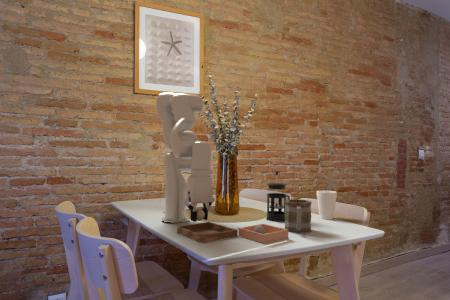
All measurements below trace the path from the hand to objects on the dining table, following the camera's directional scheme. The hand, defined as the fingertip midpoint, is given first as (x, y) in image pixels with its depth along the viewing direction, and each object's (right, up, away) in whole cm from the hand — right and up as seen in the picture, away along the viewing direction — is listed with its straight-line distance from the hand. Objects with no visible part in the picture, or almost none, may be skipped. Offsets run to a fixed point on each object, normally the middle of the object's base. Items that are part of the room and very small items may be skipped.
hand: (199, 219), depth 132 cm
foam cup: (+59, -6, +33) cm, 69 cm away
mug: (+40, -6, +6) cm, 41 cm away
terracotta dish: (+24, -6, -6) cm, 26 cm away
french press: (+35, -6, +29) cm, 46 cm away
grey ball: (+23, -5, -7) cm, 24 cm away
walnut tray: (+3, -6, -4) cm, 7 cm away
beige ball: (0, 0, 0) cm, 0 cm away
